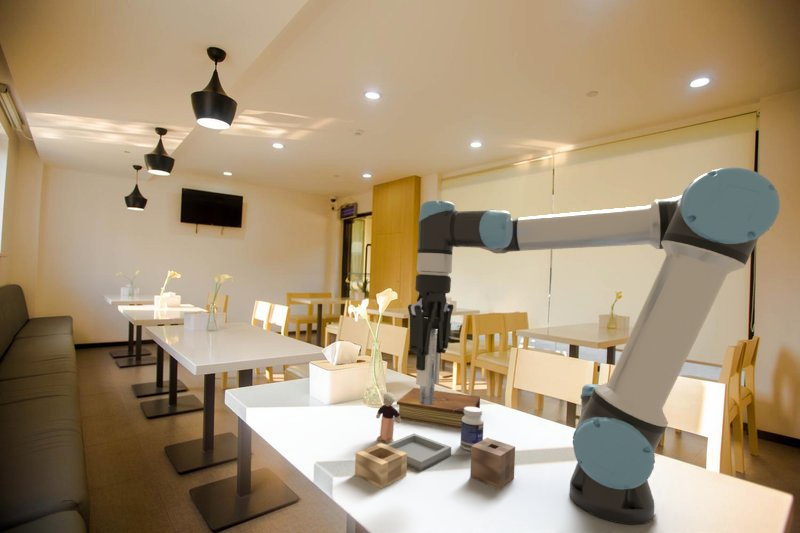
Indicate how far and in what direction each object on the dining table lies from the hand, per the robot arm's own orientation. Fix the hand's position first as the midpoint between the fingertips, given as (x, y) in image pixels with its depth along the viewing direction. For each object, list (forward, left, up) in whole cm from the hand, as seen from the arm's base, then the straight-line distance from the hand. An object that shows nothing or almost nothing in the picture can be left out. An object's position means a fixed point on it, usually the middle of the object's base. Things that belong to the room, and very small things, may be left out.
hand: (427, 383), depth 88 cm
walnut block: (-9, -13, -21) cm, 27 cm away
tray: (+10, -10, -21) cm, 25 cm away
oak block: (+9, +4, -21) cm, 23 cm away
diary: (+24, -39, -22) cm, 51 cm away
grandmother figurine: (+21, -11, -21) cm, 32 cm away
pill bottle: (+3, -24, -21) cm, 32 cm away
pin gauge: (0, 0, -4) cm, 4 cm away
